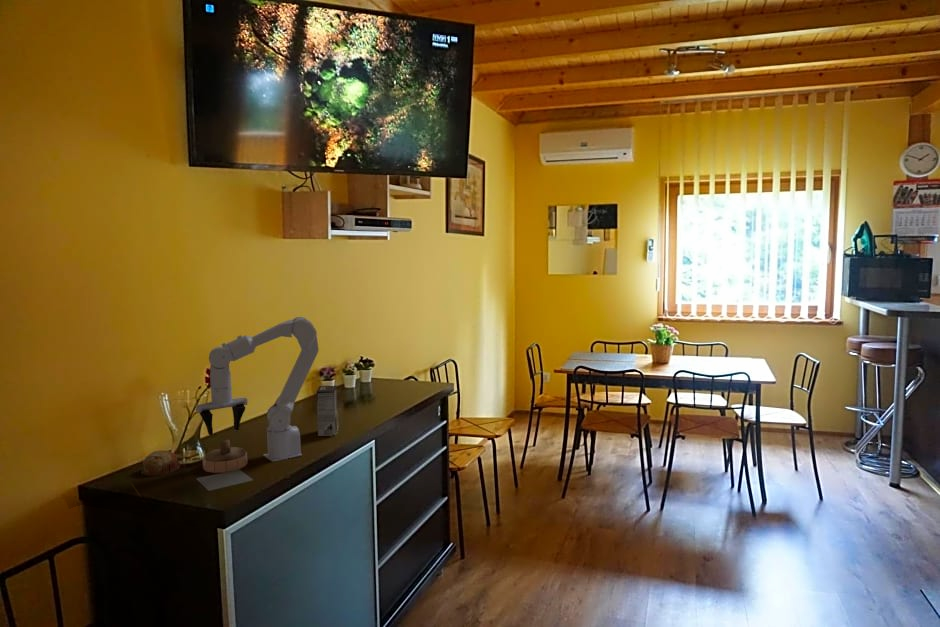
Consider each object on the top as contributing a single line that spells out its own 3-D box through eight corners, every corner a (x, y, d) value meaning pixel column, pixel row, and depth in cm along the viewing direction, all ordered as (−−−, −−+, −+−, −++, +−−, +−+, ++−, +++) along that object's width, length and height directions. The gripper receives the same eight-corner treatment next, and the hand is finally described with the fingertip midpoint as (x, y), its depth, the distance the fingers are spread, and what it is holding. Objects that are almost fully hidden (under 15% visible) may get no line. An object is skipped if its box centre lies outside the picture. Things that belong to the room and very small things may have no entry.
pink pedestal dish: (239, 447, 194) (238, 433, 194) (249, 456, 185) (249, 441, 185) (201, 454, 188) (200, 440, 187) (210, 464, 179) (209, 449, 178)
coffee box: (320, 430, 225) (318, 385, 223) (338, 429, 226) (337, 384, 224) (317, 437, 216) (315, 391, 214) (336, 436, 217) (334, 390, 215)
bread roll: (144, 481, 186) (130, 460, 183) (176, 459, 192) (163, 439, 189) (156, 490, 179) (141, 468, 176) (188, 467, 185) (175, 445, 182)
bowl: (239, 457, 196) (238, 446, 195) (252, 467, 186) (252, 455, 186) (198, 465, 188) (198, 454, 188) (210, 476, 179) (210, 464, 178)
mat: (239, 470, 184) (239, 468, 184) (253, 481, 174) (253, 480, 174) (196, 479, 176) (195, 478, 176) (208, 492, 167) (208, 490, 167)
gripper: (199, 393, 180) (202, 439, 181) (250, 385, 189) (252, 429, 190) (192, 389, 185) (195, 434, 186) (241, 382, 194) (244, 425, 196)
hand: (223, 431), depth 189 cm, fingers open, 7 cm apart
